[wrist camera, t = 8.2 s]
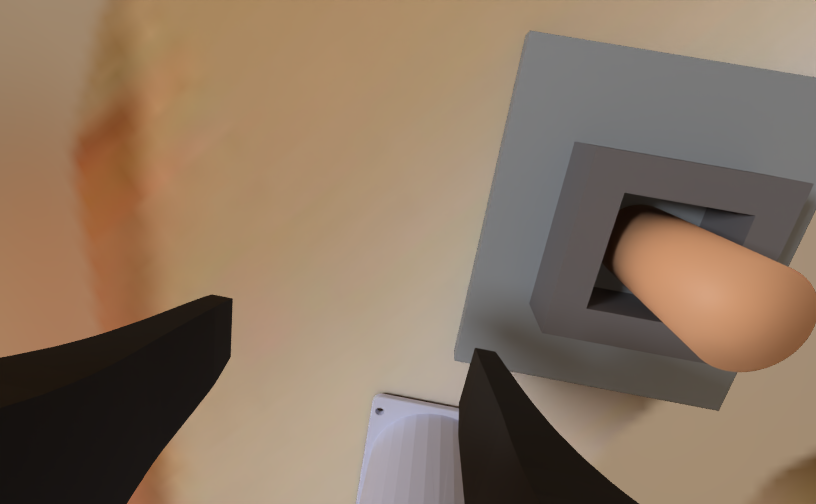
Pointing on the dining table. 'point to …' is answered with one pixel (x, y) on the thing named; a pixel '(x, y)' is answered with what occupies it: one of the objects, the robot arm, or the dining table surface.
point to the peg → (711, 289)
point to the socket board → (628, 204)
